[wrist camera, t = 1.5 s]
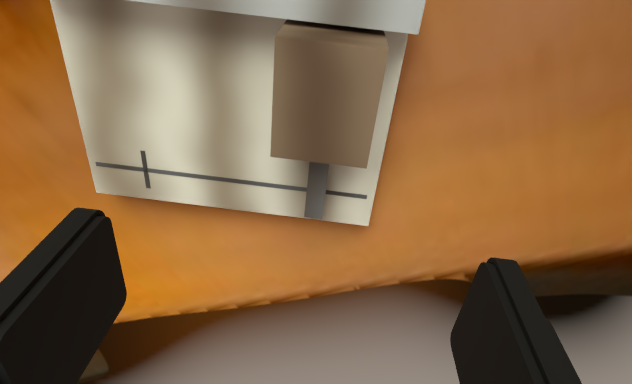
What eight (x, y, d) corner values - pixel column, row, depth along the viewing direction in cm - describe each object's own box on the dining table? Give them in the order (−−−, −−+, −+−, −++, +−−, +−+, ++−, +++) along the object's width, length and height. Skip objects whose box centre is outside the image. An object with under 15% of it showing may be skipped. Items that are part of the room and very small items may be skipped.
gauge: (382, 25, 22) (389, 49, 18) (350, 207, 29) (350, 255, 24) (289, 15, 22) (274, 36, 18) (279, 198, 29) (266, 244, 25)
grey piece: (413, -25, 23) (428, -12, 18) (367, 206, 32) (369, 253, 27) (63, -66, 23) (-9, -63, 19) (113, 174, 32) (73, 216, 28)
